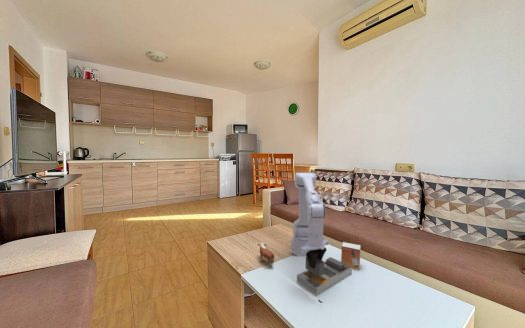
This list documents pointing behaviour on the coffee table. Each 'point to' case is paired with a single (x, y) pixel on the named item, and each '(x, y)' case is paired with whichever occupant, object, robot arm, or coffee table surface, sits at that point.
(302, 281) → the rack
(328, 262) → the dark grey rectangular block
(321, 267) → the dark grey block piece
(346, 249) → the small box
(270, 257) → the bull figurine
